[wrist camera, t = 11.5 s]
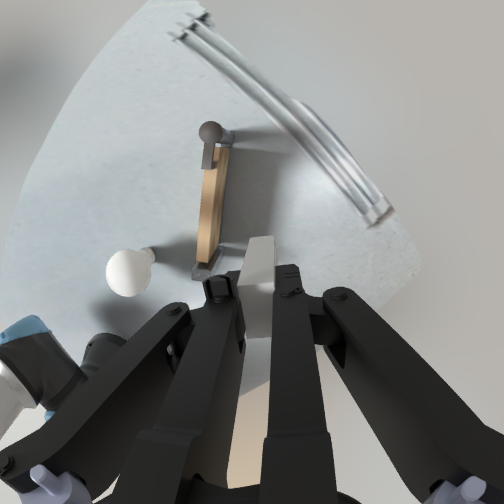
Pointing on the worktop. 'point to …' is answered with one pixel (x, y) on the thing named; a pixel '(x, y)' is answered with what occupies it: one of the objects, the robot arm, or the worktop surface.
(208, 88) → the worktop surface
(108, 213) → the worktop surface
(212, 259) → the gate frame
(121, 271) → the light bulb
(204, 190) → the gate
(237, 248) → the worktop surface
